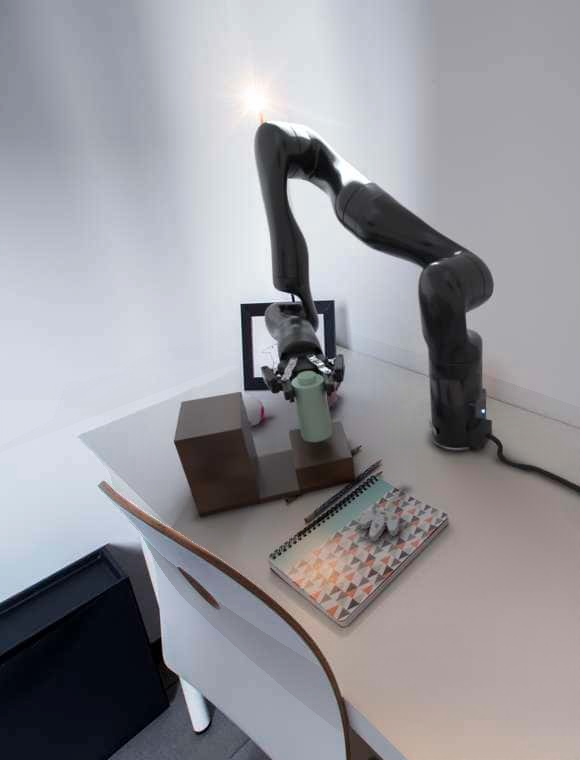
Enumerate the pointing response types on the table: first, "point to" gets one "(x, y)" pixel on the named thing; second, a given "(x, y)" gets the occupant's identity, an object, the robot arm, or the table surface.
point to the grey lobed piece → (380, 522)
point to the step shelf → (251, 458)
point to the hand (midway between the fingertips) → (310, 393)
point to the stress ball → (253, 409)
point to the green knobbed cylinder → (312, 406)
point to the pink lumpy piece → (333, 395)
